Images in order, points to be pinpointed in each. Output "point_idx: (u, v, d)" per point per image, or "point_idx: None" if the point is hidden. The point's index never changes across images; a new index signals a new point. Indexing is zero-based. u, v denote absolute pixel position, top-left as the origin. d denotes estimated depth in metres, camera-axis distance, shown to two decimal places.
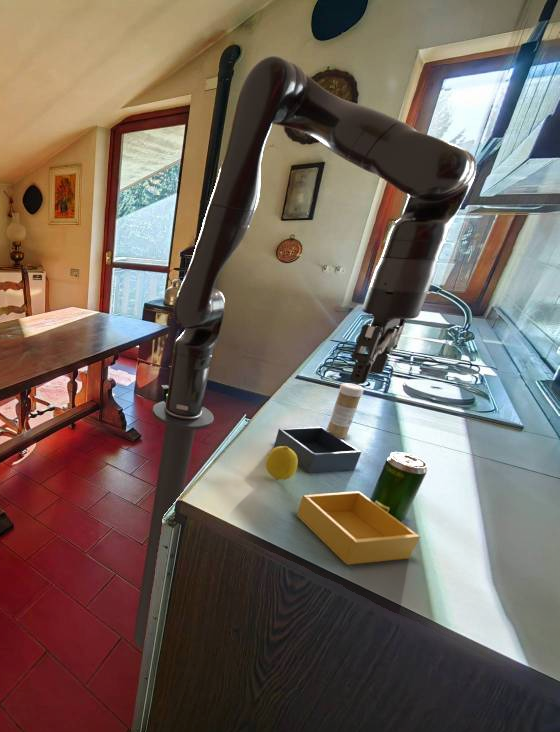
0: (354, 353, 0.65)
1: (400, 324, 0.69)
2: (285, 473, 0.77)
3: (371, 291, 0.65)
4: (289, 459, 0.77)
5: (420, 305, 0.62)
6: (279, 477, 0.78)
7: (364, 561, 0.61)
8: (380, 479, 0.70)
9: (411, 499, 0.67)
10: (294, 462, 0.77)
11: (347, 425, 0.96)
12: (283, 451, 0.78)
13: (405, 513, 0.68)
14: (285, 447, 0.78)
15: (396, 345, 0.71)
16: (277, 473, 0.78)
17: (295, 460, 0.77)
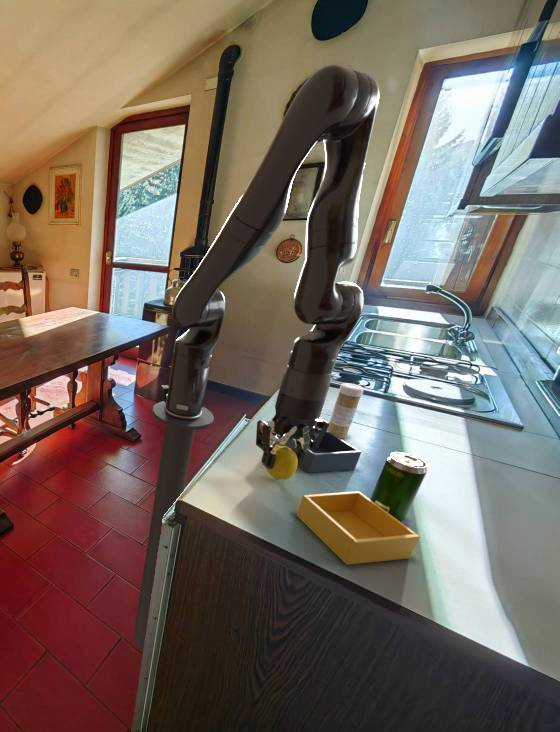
0: (256, 442, 0.78)
1: (321, 426, 0.76)
2: (285, 473, 0.77)
3: (279, 390, 0.76)
4: (289, 459, 0.77)
5: (310, 411, 0.71)
6: (279, 477, 0.78)
7: (364, 561, 0.61)
8: (380, 479, 0.70)
9: (411, 499, 0.67)
10: (294, 462, 0.77)
11: (347, 425, 0.96)
12: (283, 451, 0.78)
13: (405, 513, 0.68)
14: (285, 447, 0.78)
15: (315, 445, 0.77)
16: (277, 473, 0.78)
17: (295, 460, 0.77)
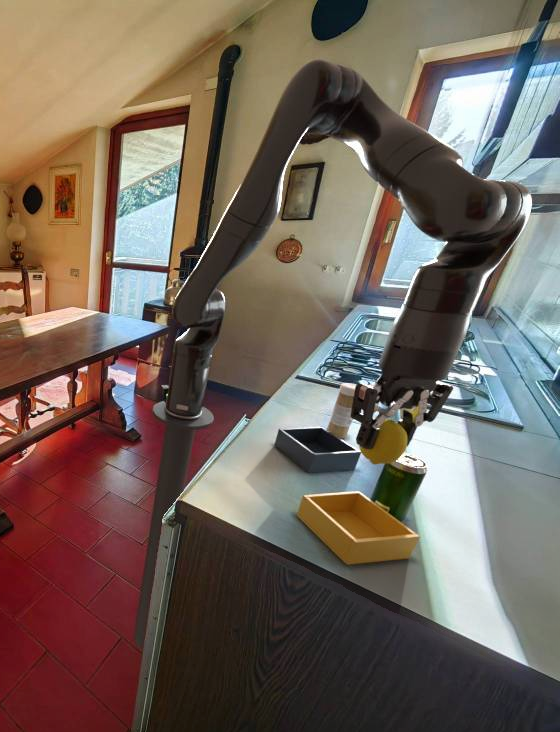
0: (352, 413, 0.59)
1: (441, 392, 0.57)
2: (391, 454, 0.58)
3: (386, 342, 0.56)
4: (397, 435, 0.57)
5: (439, 366, 0.52)
6: (381, 460, 0.59)
7: (364, 561, 0.61)
8: (380, 479, 0.70)
9: (411, 499, 0.67)
10: (405, 439, 0.58)
11: (347, 425, 0.96)
12: (389, 425, 0.58)
13: (405, 513, 0.68)
14: (390, 420, 0.59)
15: (432, 417, 0.58)
16: (379, 454, 0.59)
17: (405, 437, 0.58)
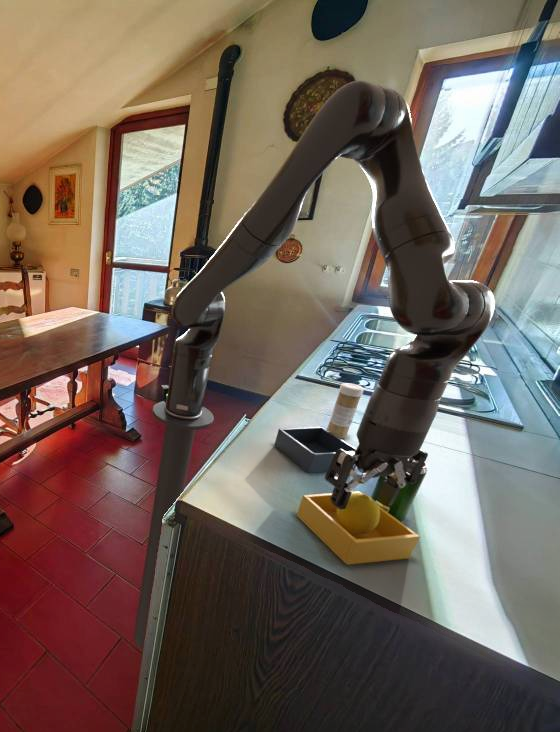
0: (327, 475, 0.62)
1: (417, 458, 0.61)
2: (365, 527, 0.63)
3: (363, 415, 0.60)
4: (370, 511, 0.62)
5: (410, 445, 0.55)
6: (356, 532, 0.64)
7: (364, 561, 0.61)
8: (380, 479, 0.70)
9: (411, 499, 0.67)
10: (377, 515, 0.62)
11: (347, 425, 0.96)
12: (363, 501, 0.63)
13: (405, 513, 0.68)
14: (364, 495, 0.63)
15: (414, 480, 0.62)
16: (354, 527, 0.64)
17: (378, 512, 0.62)
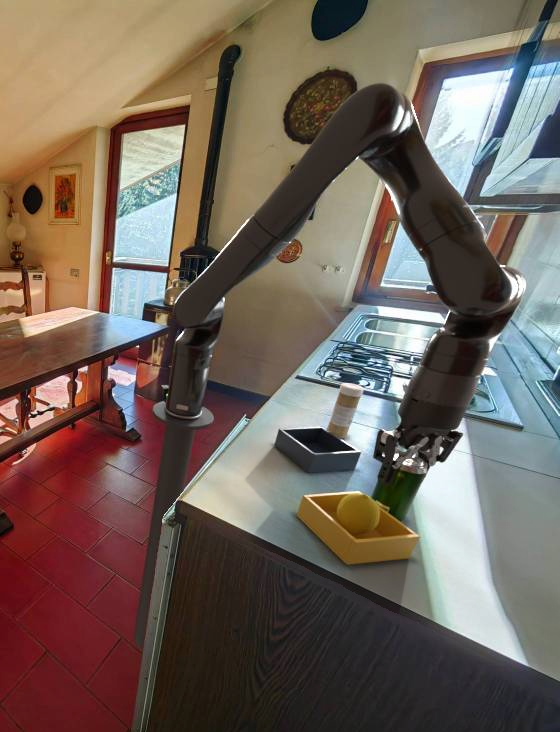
0: (374, 454, 0.67)
1: (452, 437, 0.65)
2: (365, 527, 0.63)
3: (404, 394, 0.65)
4: (370, 511, 0.62)
5: (452, 419, 0.60)
6: (356, 532, 0.64)
7: (364, 561, 0.61)
8: None
9: (411, 499, 0.67)
10: (377, 514, 0.62)
11: (347, 425, 0.96)
12: (363, 501, 0.63)
13: (405, 513, 0.68)
14: (364, 495, 0.63)
15: (443, 458, 0.66)
16: (354, 527, 0.64)
17: (378, 512, 0.62)
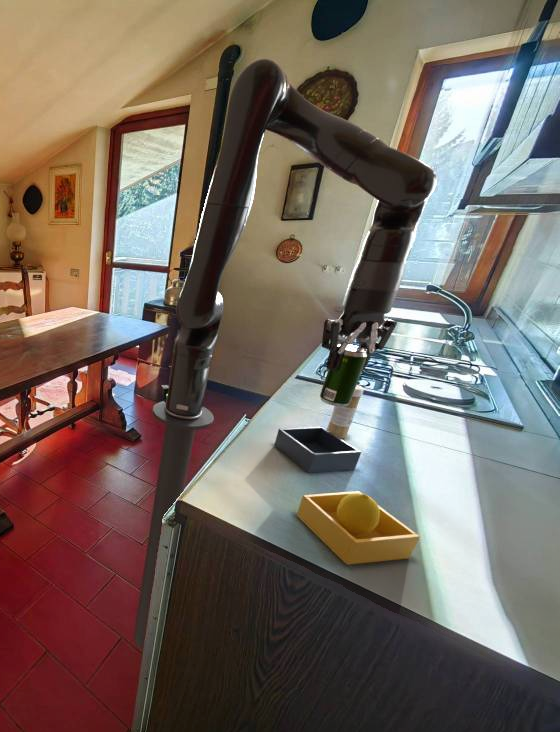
0: (322, 343, 0.78)
1: (388, 326, 0.76)
2: (365, 527, 0.63)
3: (347, 288, 0.76)
4: (370, 511, 0.62)
5: (383, 302, 0.71)
6: (356, 532, 0.64)
7: (364, 561, 0.61)
8: None
9: (354, 382, 0.78)
10: (377, 514, 0.62)
11: (347, 425, 0.96)
12: (363, 501, 0.63)
13: (350, 396, 0.79)
14: (364, 495, 0.63)
15: (381, 346, 0.77)
16: (354, 527, 0.64)
17: (378, 512, 0.62)
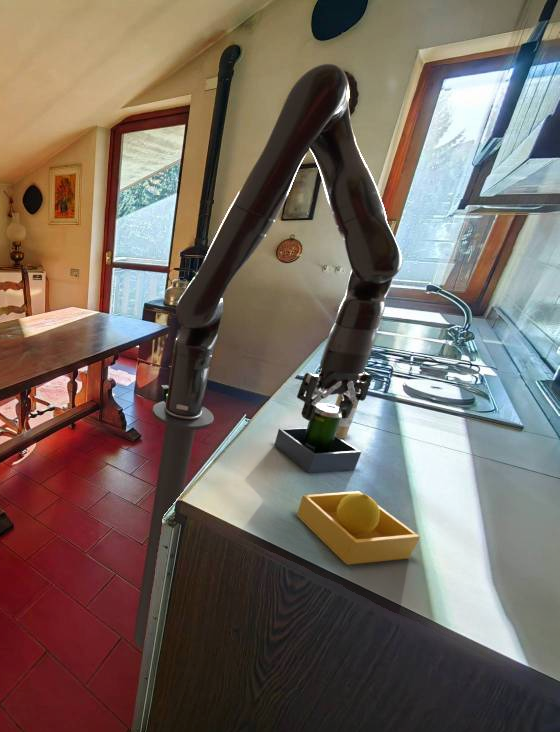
0: (298, 394, 0.83)
1: (364, 380, 0.82)
2: (365, 527, 0.63)
3: None
4: (370, 511, 0.62)
5: (356, 365, 0.77)
6: (356, 532, 0.64)
7: (364, 561, 0.61)
8: (308, 425, 0.87)
9: (330, 439, 0.84)
10: (377, 514, 0.62)
11: (347, 425, 0.96)
12: (363, 501, 0.63)
13: (327, 451, 0.86)
14: (364, 495, 0.63)
15: (363, 397, 0.83)
16: (354, 527, 0.64)
17: (378, 512, 0.62)
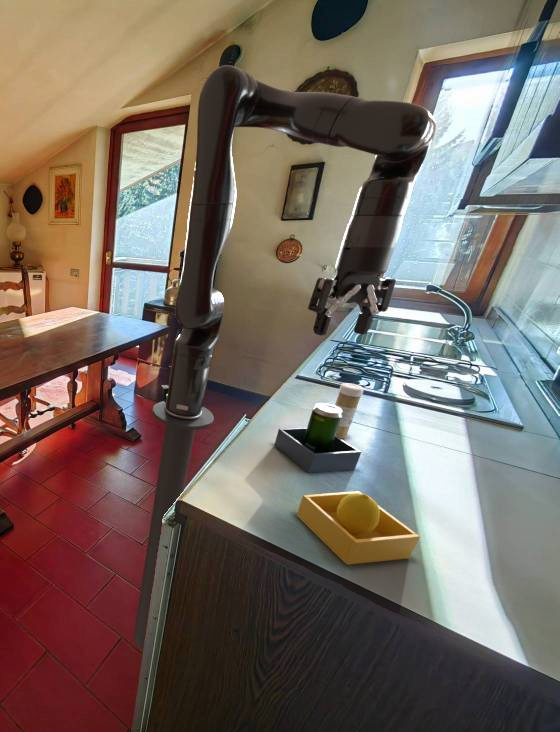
0: (309, 304, 0.72)
1: (387, 285, 0.70)
2: (365, 527, 0.63)
3: (340, 248, 0.70)
4: (370, 511, 0.62)
5: (378, 260, 0.65)
6: (356, 532, 0.64)
7: (364, 561, 0.61)
8: (308, 425, 0.87)
9: (330, 439, 0.84)
10: (377, 514, 0.62)
11: (347, 425, 0.96)
12: (363, 501, 0.63)
13: (327, 451, 0.86)
14: (364, 495, 0.63)
15: (384, 307, 0.72)
16: (354, 527, 0.64)
17: (378, 512, 0.62)
